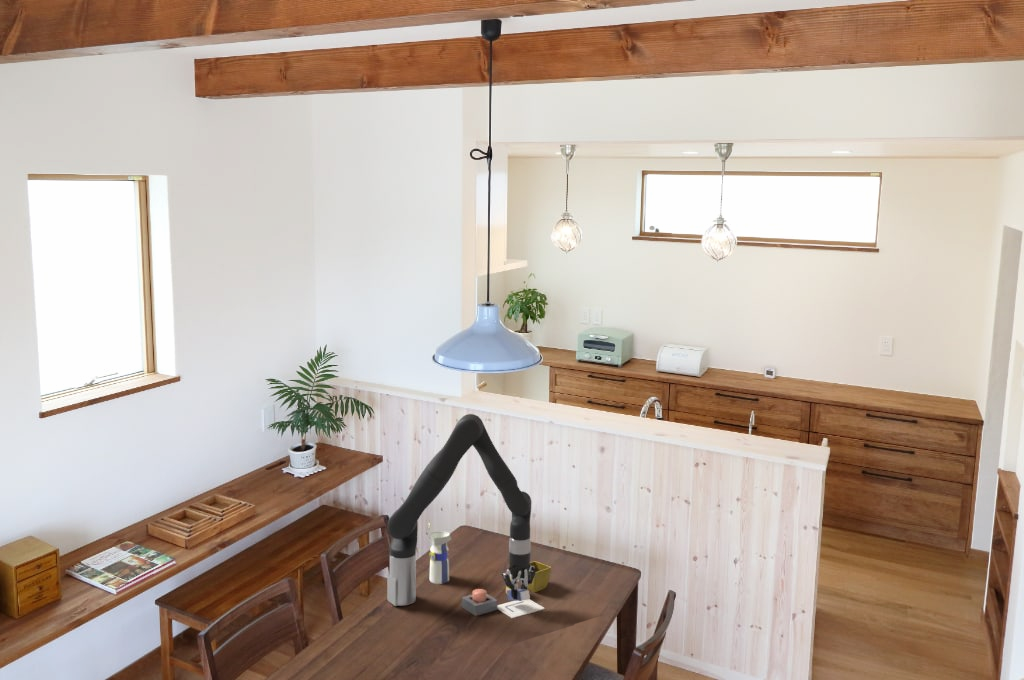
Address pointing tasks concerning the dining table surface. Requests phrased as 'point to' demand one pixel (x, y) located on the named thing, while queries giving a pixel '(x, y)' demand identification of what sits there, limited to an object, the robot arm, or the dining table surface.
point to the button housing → (479, 605)
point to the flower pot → (539, 577)
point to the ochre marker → (507, 587)
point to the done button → (479, 595)
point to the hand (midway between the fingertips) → (519, 597)
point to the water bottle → (439, 556)
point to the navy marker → (519, 595)
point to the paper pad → (519, 608)
